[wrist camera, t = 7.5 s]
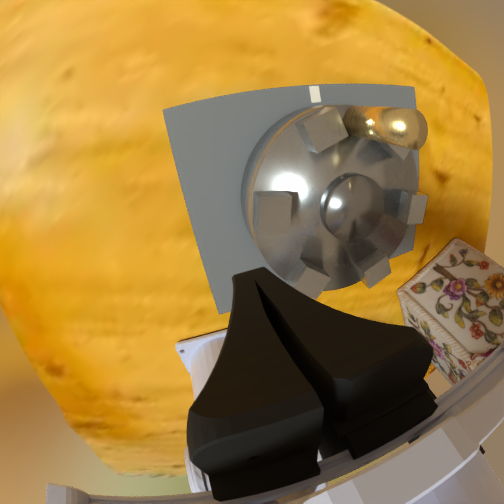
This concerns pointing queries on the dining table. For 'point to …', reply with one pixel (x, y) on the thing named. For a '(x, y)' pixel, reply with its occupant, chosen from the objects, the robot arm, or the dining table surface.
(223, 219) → the base plate
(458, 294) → the decorative jar
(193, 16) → the dining table surface
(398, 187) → the notched steel disc
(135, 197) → the dining table surface
